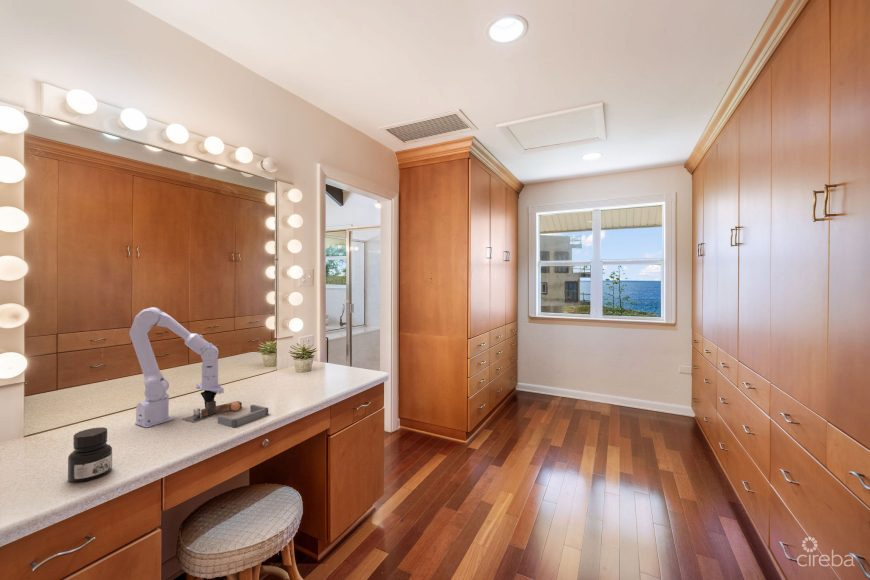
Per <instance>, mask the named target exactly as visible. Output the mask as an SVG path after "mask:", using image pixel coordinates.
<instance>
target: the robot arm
mask: <svg viewBox="0 0 870 580" xmlns="http://www.w3.org/2000/svg"><path fill="white" fill-rule="evenodd" d="M155 325H156V327H161V328H162V327H163V328H166V329H169V330H171V331H172V332H173V333H174V334H176V335H177V336H179V337H180V338H182V339H183V340H184V345H185V346H187V347H188V348H189V349H191V351H193V352H194V353H196V354H197V355H200V358H201V360H202V365H201V382H200V383H199V382H198V383H196V384H195V385H196V387H195V388H196V389H197V390H198V389H200V390H202V391H201V392H200V395H201V397H202V398H203V401H204V409H205V408H206V402H208V401H212V400H214V401H215V397H216V396H217V395H221V394H224V391H225V389H224V387H222V386H221V383H219V360H218V359H219V358H218V357H219V349H218V347H217V345H214V344H213V343H212V342H208V340H205V338H204V336H203V335H202V334H201V333H200V334H198V333H195V332H194V333H191V332H190V331H189V330H188V329H186V328H185V327H184V326H183V325H182V324H181V323H179V322H178V321H177V320H176V319H174V318H173V317H172V316H171V315H169V314H168V313H166V312H165V311H162V310H161V309H160V308H158V307H155V306H154V307H153V306H152V307H148V308H145V309H142V310H140V311H139V313H137V314H136V315H135V317H134V319H133V322H132V325H131V327H130V329H129V333H128V334H129V336H130V340H131V342H132V346H133V348H134V351H135V354H136V357H137V360H138V363H139V365H140V369H141V371H142V374H143V377H144V386H145V390H144V396H145V398H144V400H143V401H141V402H139V403H137V405H136V409H135V411H136V413H135V414H136V417H135V419H136V420H135V423H134V424H135V425H138V426H141V427H144V428H149V427H154V426H156V425H160V424H162V423H166V422H169V421H173V420H175V418H174V417H172V416H169V414H170V413H169V412H170V409H169V408H170V407H169V404H170V403H169V401H170V395H169V394H168V393H167V391H168V389H169V388H170V384H169V381H168V380H167V379H165V378H164V375H163V374H162V372H161V370H160V368H159V365H158V362H157V359H156V356H155V353H154V350H153V348H152V345H151V341H150V339H149V336H148V333H149V332H150V330H151V329H152V328H153V326H155Z"/></svg>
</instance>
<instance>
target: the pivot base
mask: <svg viewBox="0 0 870 580" xmlns="http://www.w3.org/2000/svg"><path fill="white" fill-rule="evenodd" d="M211 417H212V415H205V416H202V415H201V408H199V407H198V408H194V409H193V414H192V415H190V416H187V417H184V418H182V419H181V420H183V421H186V422H190V423H197V422H199V421H203V420H206V419H208V418H211Z"/></svg>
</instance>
